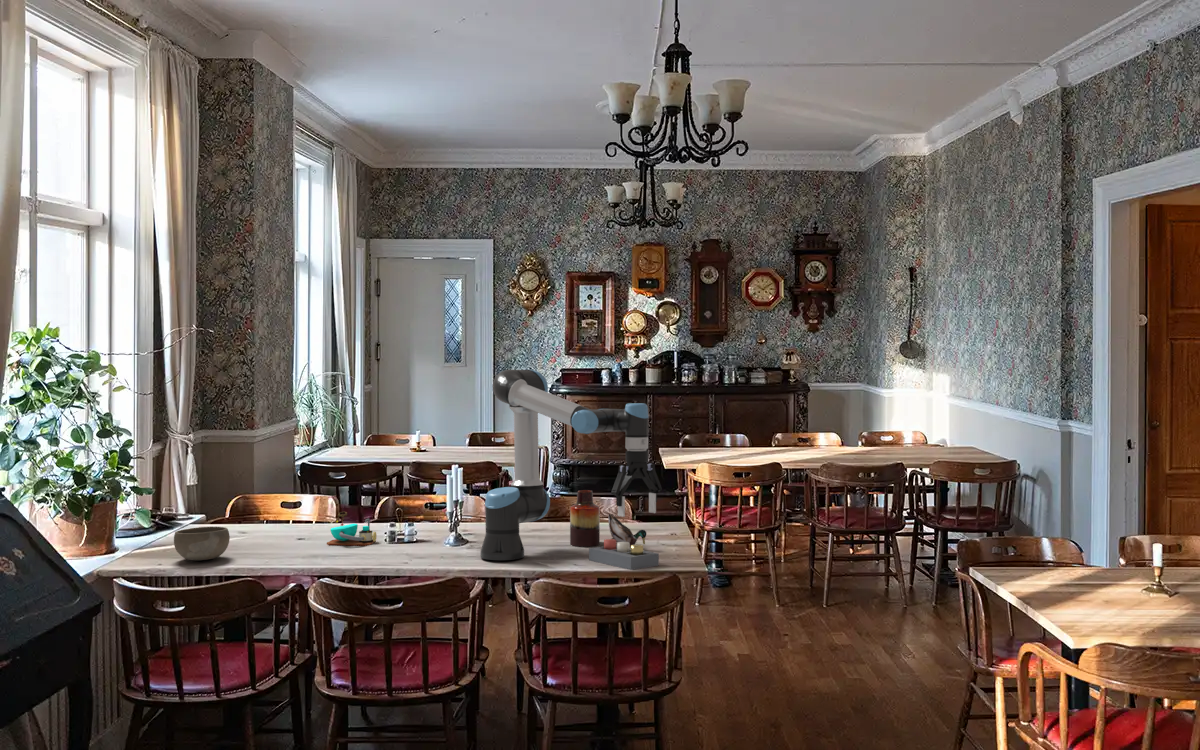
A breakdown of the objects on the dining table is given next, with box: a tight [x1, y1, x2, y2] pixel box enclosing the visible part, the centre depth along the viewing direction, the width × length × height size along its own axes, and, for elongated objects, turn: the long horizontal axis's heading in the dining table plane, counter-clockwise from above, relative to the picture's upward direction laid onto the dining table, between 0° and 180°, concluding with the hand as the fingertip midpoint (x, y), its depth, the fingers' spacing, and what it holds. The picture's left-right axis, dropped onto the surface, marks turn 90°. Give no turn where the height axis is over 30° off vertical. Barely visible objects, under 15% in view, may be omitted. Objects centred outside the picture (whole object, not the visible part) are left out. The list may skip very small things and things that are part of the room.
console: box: [588, 544, 660, 571], centre depth 342 cm, size 12×22×4 cm, turn 39°
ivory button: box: [616, 542, 630, 553], centre depth 342 cm, size 4×4×4 cm
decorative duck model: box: [607, 513, 647, 548], centre depth 368 cm, size 15×8×15 cm, turn 60°
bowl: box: [173, 526, 231, 561], centre depth 350 cm, size 17×18×10 cm
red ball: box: [603, 538, 617, 550], centre depth 348 cm, size 4×4×4 cm
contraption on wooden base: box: [326, 511, 377, 547], centre depth 378 cm, size 14×18×15 cm
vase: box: [569, 489, 601, 548], centre depth 375 cm, size 11×11×20 cm
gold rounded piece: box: [631, 543, 644, 556], centre depth 337 cm, size 4×4×4 cm
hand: (637, 514), depth 337 cm, fingers open, 13 cm apart
